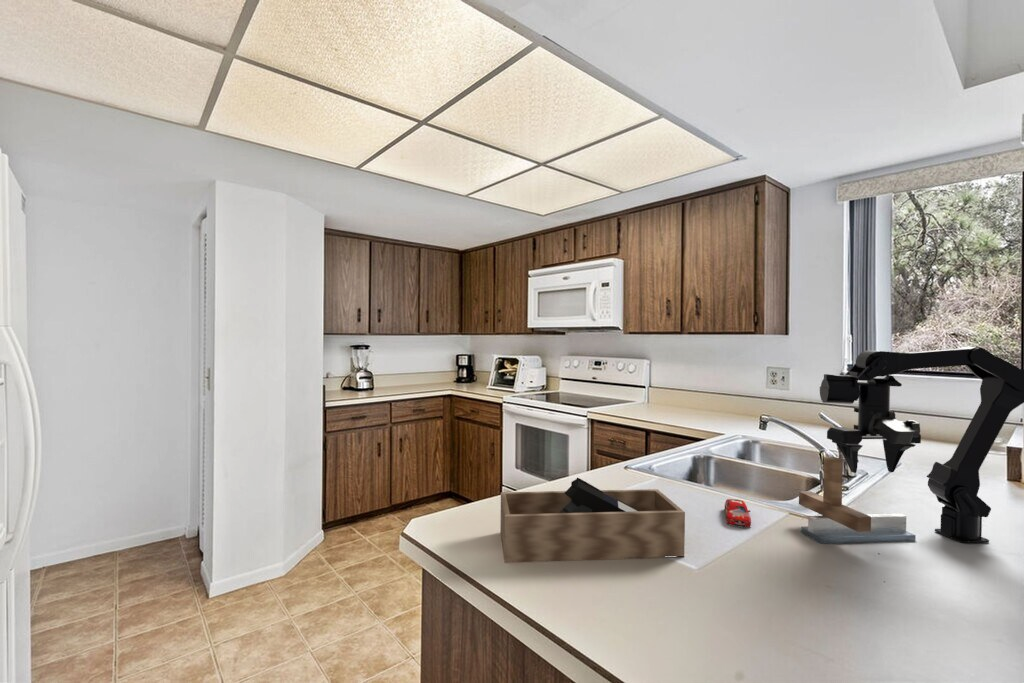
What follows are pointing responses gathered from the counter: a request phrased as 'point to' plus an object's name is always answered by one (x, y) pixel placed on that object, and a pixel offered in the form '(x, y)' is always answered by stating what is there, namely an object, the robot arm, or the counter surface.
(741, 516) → the race car
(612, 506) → the toy gun
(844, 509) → the wooden t-shaped stand
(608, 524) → the box
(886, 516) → the ridge stand
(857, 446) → the robot arm
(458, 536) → the counter surface
